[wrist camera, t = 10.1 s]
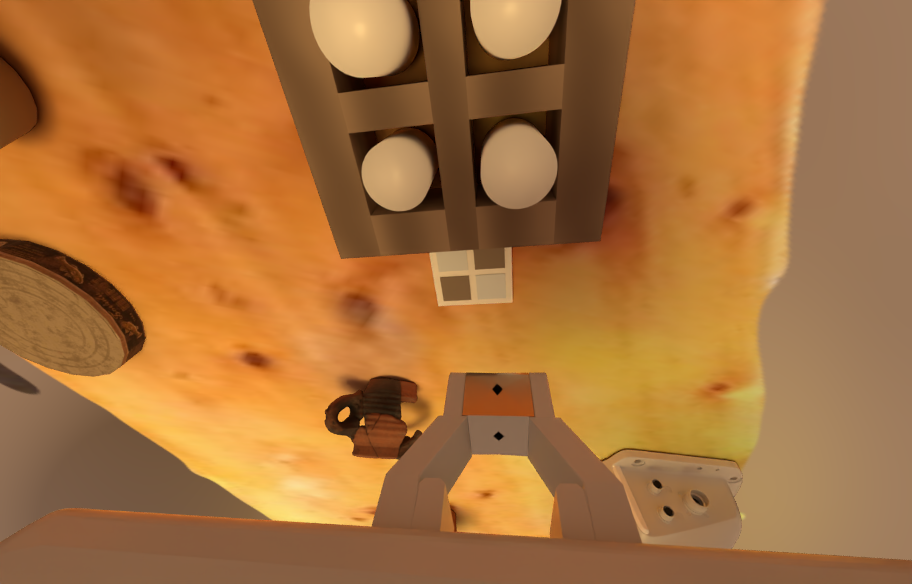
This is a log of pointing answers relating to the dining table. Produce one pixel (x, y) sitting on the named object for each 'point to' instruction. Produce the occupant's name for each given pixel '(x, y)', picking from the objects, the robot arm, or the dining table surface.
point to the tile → (473, 276)
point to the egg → (400, 169)
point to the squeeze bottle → (14, 106)
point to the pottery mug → (375, 419)
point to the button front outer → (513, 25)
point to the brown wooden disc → (63, 312)
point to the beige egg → (366, 35)
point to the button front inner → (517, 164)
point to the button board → (458, 128)
